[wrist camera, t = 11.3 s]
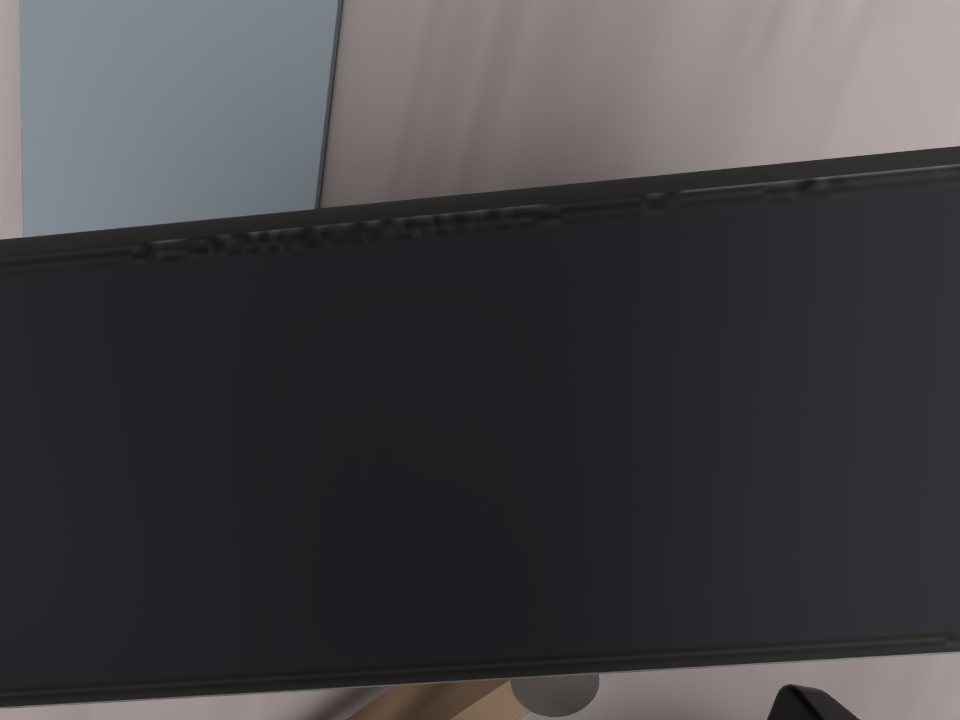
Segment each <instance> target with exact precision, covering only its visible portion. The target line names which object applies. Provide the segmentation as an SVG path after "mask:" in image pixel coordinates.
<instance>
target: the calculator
mask: <svg viewBox="0 0 960 720" xmlns="http://www.w3.org/2000/svg"><path fill="white" fill-rule="evenodd" d="M949 653H960V146H956V147H946V148H936V149H926V150H915V151H905V152H895V153H885V154H874V155H864V156H854V157H844V158H833V159H823V160H813V161H803V162H792V163H782V164H772V165H762V166H751V167H741V168H731V169H721V170H710V171H700V172H690V173H680V174H669V175H659V176H649V177H639V178H628V179H618V180H608V181H597V182H587V183H577V184H567V185H556V186H546V187H536V188H526V189H515V190H505V191H495V192H485V193H474V194H464V195H454V196H444V197H433V198H423V199H413V200H403V201H392V202H382V203H372V204H362V205H351V206H341V207H331V208H321V209H310V210H300V211H290V212H280V213H269V214H259V215H249V216H239V217H228V218H218V219H208V220H198V221H187V222H177V223H167V224H157V225H146V226H136V227H126V228H115V229H105V230H95V231H85V232H74V233H64V234H54V235H44V236H33V237H23V238H13V239H3V240H0V708H24V707H41V706H58V705H75V704H92V703H109V702H126V701H144V700H161V699H178V698H195V697H212V696H229V695H246V694H264V693H281V692H298V691H315V690H332V689H349V688H366V687H384V686H401V685H418V684H435V683H452V682H469V681H486V680H504V679H521V678H538V677H555V676H572V675H589V674H606V673H624V672H641V671H658V670H675V669H692V668H709V667H727V666H744V665H761V664H778V663H795V662H812V661H829V660H847V659H864V658H881V657H898V656H915V655H932V654H949Z"/></svg>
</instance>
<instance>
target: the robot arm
mask: <svg viewBox="0 0 960 720" xmlns="http://www.w3.org/2000/svg"><path fill="white" fill-rule="evenodd" d="M767 720H860V719H858V718H857V717H856V716H855V715H853V714H852V713H851V712H850V711H848V710H847V709H846V708H845V707H843V706H842V705H841V704H840V703H838V702H837V701H836V700H835V699H833V698H832V697H831V696H830V695H828V694H827V693H826V692H824V691H822V690H819V689H816V688H810V687H804V686H799V685H793V684H789V685H785V686H783V687H782V688H781V689H780V690H779V692H778V694H777V696H776V699H775V701H774V704H773V706H772V709H771V711H770V714H769V716H768V719H767Z"/></svg>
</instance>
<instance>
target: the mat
mask: <svg viewBox="0 0 960 720" xmlns="http://www.w3.org/2000/svg"><path fill="white" fill-rule="evenodd" d="M19 5H20V72H21V139H22V206H23V237H33V236H44V235H54V234H64V233H74V232H85V231H95V230H105V229H115V228H126V227H136V226H146V225H157V224H167V223H177V222H187V221H198V220H208V219H218V218H228V217H239V216H249V215H259V214H269V213H280V212H290V211H300V210H310V209H318V207H319V199H320V190H321V181H322V173H323V164H324V155H325V147H326V138H327V130H328V121H329V112H330V104H331V95H332V86H333V78H334V69H335V60H336V52H337V43H338V34H339V26H340V17H341V8H342V0H19Z"/></svg>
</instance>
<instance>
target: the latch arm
mask: <svg viewBox="0 0 960 720" xmlns="http://www.w3.org/2000/svg"><path fill="white" fill-rule="evenodd" d="M598 686H599V675H598V674H589V675H572V676H555V677H538V678H521V679H504V680H486V681H469V682H452V683H435V684H418V685H401V686H394V687H393V688H391V689H390V690H388V691H387V692H386V693H384V694H383V695H381V696H380V697H378V698H377V699H375V700H374V701H372V702H371V703H369V704H368V705H367V706H365V707H364V708H362V709H361V710H359V711H358V712H356V713H355V714H353V715H352V716H351V717H349V718H348V719H346V720H518V719H520V718H521V717H523V716H524V715H526V714H527V713H529V712H531V711H532V712H534V713H536V714H539V715H543V716H549V717H561V716H567V715H570V714H573V713H576V712H578V711H580V710H582V709H583V708H584V707H586V706H587V705H588V704H589V703H590V702H591V701H592V700H593V698H594V697H595V695H596V693H597V690H598Z"/></svg>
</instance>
